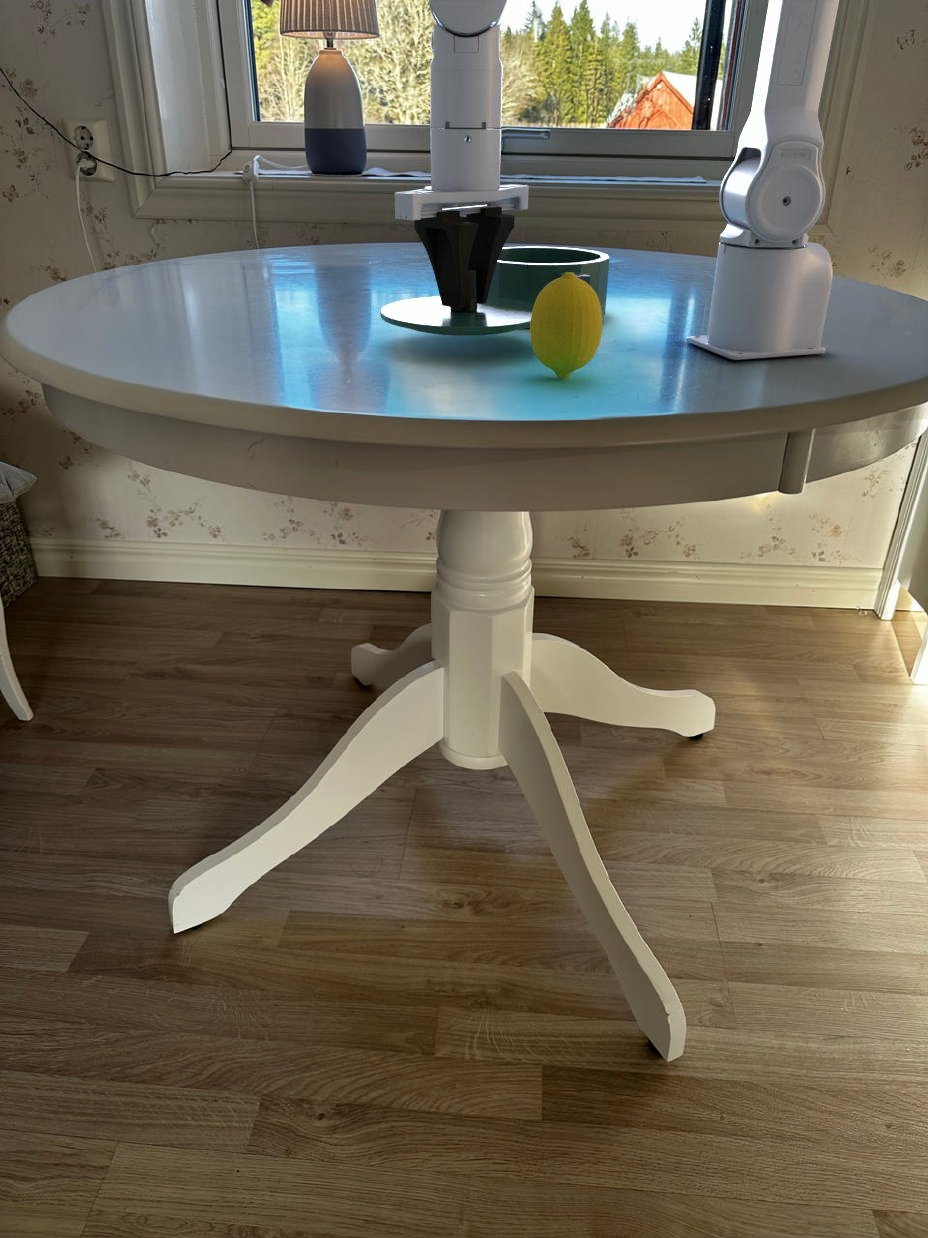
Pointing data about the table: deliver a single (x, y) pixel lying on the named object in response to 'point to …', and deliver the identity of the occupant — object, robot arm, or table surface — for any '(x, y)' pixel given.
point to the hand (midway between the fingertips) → (464, 304)
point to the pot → (546, 271)
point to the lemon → (566, 324)
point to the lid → (460, 314)
